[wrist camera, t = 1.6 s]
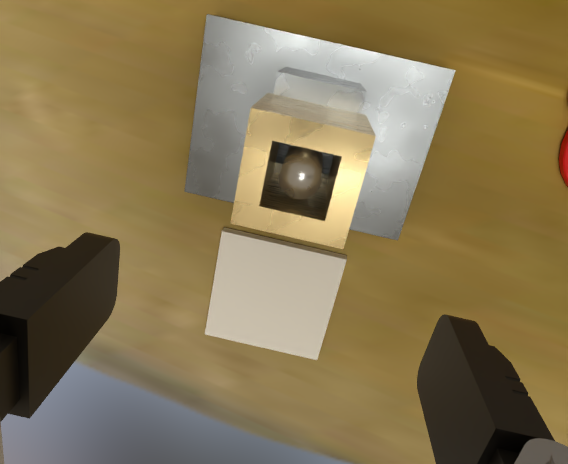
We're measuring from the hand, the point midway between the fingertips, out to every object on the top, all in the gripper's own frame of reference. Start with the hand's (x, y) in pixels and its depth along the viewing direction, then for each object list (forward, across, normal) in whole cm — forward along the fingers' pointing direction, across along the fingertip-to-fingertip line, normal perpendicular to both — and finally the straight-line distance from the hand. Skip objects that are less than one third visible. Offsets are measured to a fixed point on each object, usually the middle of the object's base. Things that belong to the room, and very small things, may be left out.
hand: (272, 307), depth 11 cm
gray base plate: (+24, 0, 0) cm, 24 cm away
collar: (+17, 0, 0) cm, 17 cm away
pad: (+24, 0, +14) cm, 28 cm away
